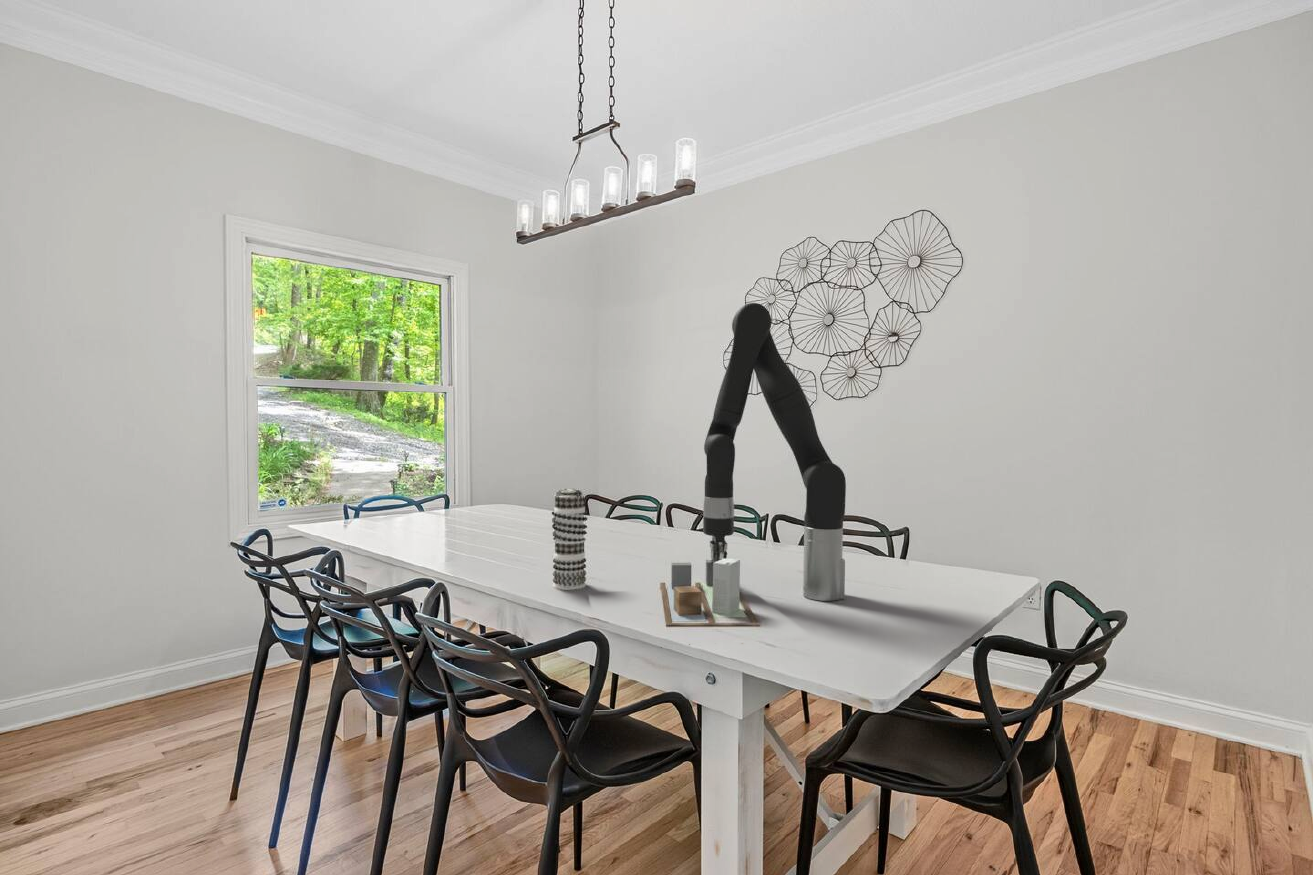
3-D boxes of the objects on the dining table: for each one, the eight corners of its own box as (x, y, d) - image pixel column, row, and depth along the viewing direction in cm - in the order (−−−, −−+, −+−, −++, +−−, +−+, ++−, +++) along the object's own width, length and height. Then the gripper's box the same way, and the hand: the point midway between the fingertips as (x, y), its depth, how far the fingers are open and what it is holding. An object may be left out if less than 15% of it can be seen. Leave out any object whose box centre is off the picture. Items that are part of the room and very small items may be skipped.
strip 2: (727, 586, 175) (728, 559, 175) (746, 621, 145) (746, 589, 145) (701, 586, 175) (701, 559, 175) (714, 621, 145) (715, 589, 145)
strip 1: (694, 589, 172) (694, 562, 172) (706, 626, 142) (706, 592, 142) (667, 589, 172) (667, 562, 172) (673, 626, 142) (673, 592, 142)
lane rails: (735, 588, 174) (735, 582, 174) (759, 631, 139) (759, 624, 139) (660, 588, 174) (660, 582, 174) (666, 632, 139) (666, 624, 139)
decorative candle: (585, 590, 171) (585, 491, 171) (548, 589, 172) (548, 491, 171) (589, 581, 181) (589, 487, 180) (554, 581, 181) (554, 487, 180)
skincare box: (721, 610, 154) (722, 557, 153) (740, 613, 151) (740, 559, 151) (711, 617, 148) (711, 562, 148) (730, 620, 146) (730, 563, 146)
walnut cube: (695, 608, 152) (695, 585, 152) (701, 614, 147) (701, 591, 147) (673, 609, 151) (673, 586, 151) (678, 615, 146) (679, 592, 146)
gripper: (738, 518, 161) (737, 591, 161) (729, 511, 174) (729, 578, 175) (706, 518, 161) (706, 591, 161) (700, 511, 174) (700, 578, 174)
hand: (718, 584), depth 168 cm, fingers closed
